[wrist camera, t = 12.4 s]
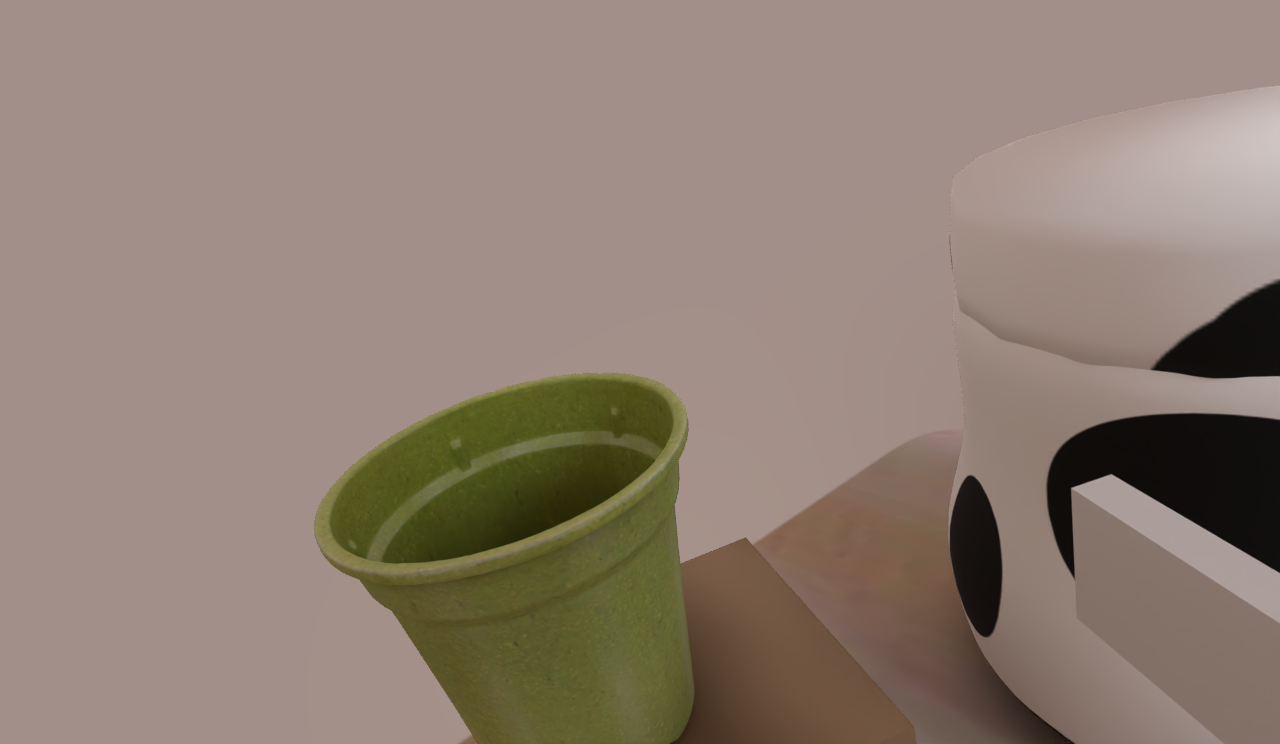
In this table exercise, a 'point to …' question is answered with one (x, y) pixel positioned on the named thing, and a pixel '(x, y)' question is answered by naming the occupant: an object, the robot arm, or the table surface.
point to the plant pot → (533, 556)
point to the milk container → (1112, 376)
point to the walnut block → (772, 663)
